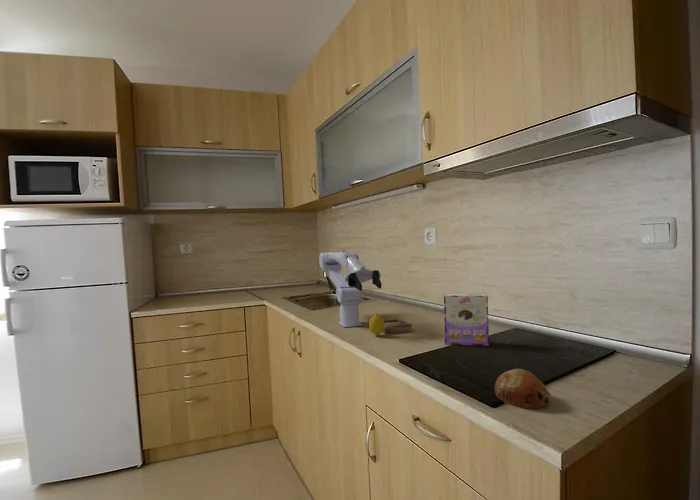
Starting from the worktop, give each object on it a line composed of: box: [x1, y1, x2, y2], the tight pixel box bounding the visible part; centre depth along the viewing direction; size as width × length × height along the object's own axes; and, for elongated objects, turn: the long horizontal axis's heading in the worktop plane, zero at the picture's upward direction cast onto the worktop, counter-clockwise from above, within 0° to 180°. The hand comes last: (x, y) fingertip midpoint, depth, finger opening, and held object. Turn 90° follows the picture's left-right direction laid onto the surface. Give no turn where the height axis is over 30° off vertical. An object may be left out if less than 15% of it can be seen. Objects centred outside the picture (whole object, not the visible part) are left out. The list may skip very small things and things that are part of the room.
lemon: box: [368, 313, 385, 337], centre depth 131 cm, size 6×6×8 cm
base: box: [381, 318, 413, 335], centre depth 140 cm, size 11×11×3 cm
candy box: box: [443, 292, 490, 347], centre depth 119 cm, size 14×6×16 cm, turn 74°
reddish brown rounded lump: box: [494, 368, 552, 410], centre depth 76 cm, size 10×10×8 cm
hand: (370, 287), depth 130 cm, fingers open, 7 cm apart
